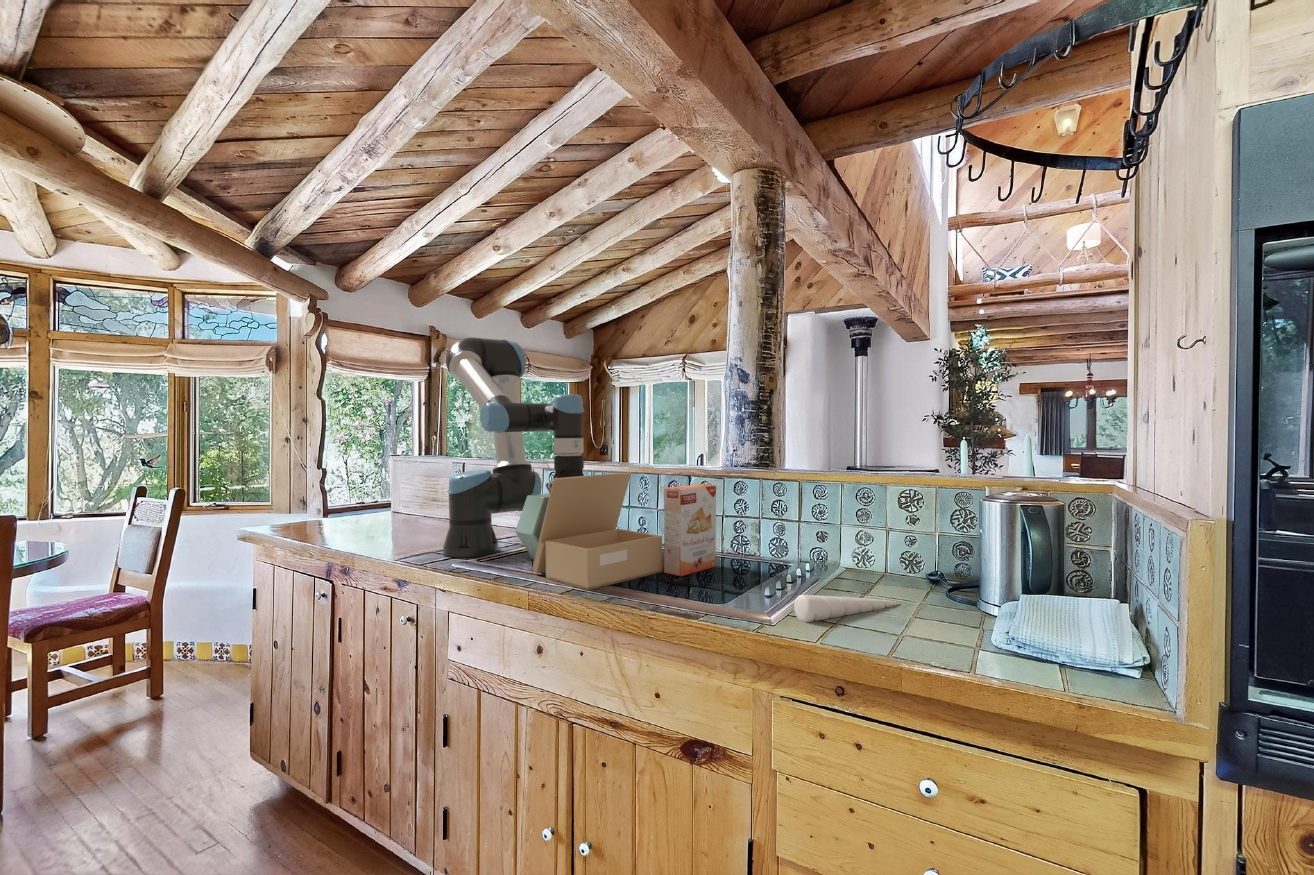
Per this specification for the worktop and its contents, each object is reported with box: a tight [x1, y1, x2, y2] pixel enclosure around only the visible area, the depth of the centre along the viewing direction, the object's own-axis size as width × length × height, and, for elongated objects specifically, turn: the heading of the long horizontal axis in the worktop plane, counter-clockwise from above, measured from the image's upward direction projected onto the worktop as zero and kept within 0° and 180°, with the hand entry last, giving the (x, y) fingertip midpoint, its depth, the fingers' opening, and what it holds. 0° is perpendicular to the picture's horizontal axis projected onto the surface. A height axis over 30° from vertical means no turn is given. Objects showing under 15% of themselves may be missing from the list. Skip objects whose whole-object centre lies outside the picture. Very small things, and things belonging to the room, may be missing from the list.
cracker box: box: [663, 483, 717, 577], centre depth 148 cm, size 14×6×21 cm, turn 137°
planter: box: [515, 492, 550, 560], centre depth 164 cm, size 17×8×21 cm
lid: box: [531, 471, 632, 575], centre depth 150 cm, size 25×24×2 cm
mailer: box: [545, 528, 663, 591], centre depth 144 cm, size 16×23×9 cm
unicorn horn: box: [793, 594, 900, 623], centre depth 113 cm, size 5×24×5 cm, turn 110°
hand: (569, 546), depth 155 cm, fingers closed
